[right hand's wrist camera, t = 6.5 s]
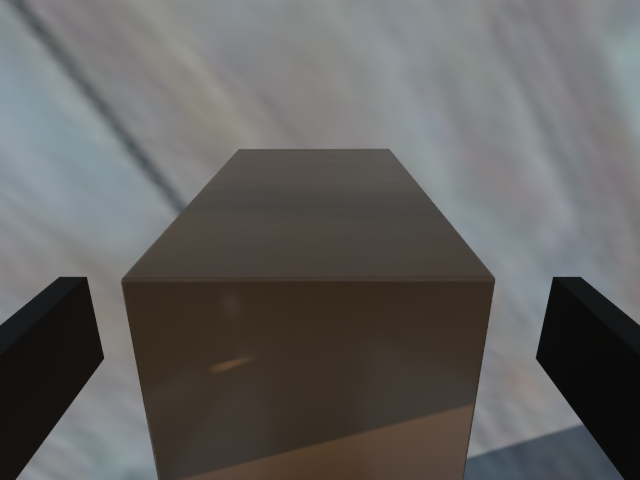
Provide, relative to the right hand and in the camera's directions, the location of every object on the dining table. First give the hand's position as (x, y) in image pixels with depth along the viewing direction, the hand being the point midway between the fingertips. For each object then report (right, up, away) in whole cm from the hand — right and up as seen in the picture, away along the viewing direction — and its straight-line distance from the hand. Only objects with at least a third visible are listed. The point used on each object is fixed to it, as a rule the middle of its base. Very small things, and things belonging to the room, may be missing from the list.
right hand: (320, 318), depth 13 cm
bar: (0, -7, +6) cm, 10 cm away
